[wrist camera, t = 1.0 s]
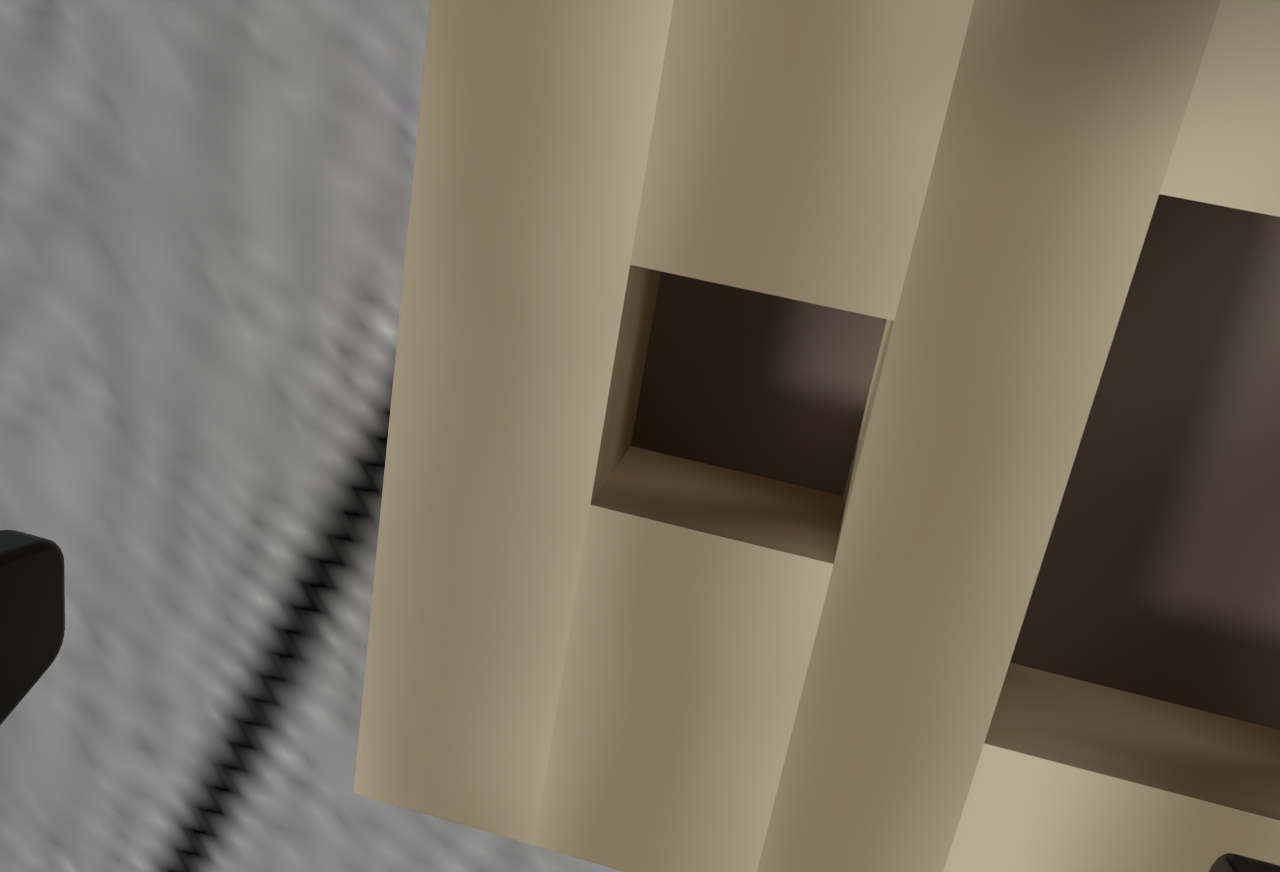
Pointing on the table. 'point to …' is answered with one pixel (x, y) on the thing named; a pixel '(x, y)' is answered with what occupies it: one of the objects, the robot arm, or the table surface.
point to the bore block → (838, 436)
